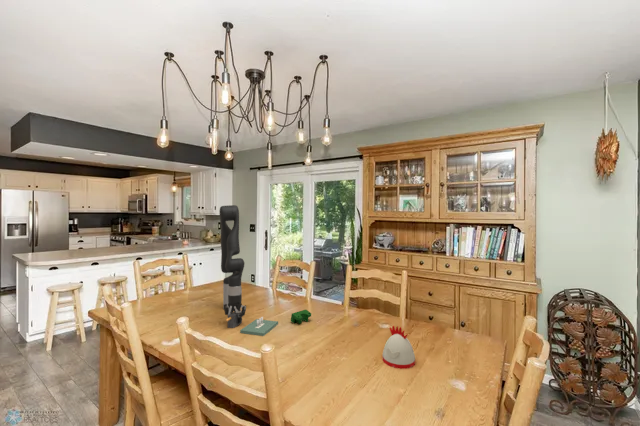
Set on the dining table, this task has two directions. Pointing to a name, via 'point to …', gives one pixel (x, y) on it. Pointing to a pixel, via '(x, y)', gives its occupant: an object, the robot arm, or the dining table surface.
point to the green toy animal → (300, 316)
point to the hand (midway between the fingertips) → (234, 322)
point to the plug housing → (233, 320)
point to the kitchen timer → (398, 350)
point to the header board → (259, 327)
